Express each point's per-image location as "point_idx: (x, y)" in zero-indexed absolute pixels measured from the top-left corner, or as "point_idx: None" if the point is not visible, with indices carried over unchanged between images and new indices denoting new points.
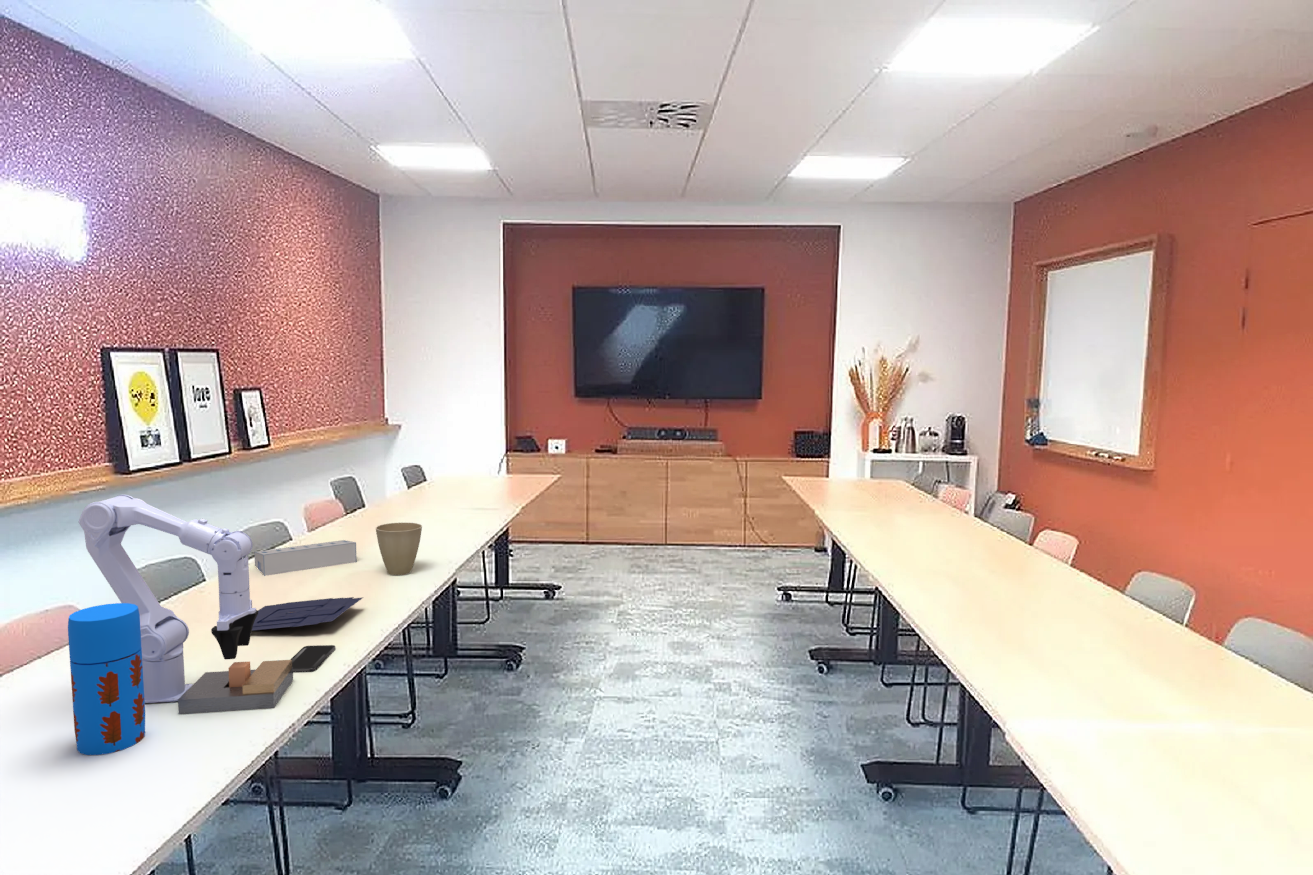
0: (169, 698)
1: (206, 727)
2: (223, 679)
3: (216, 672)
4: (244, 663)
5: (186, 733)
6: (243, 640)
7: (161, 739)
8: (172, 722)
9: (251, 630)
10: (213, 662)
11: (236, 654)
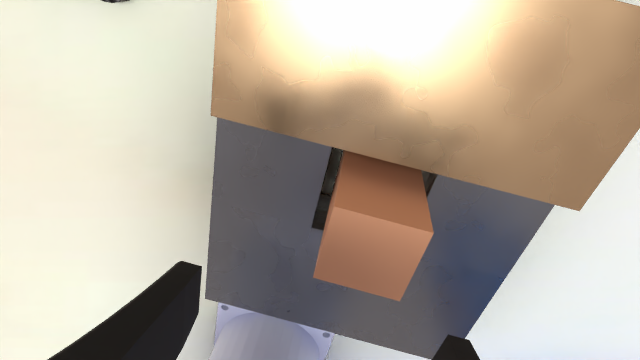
0: (320, 342)
1: (626, 258)
2: (302, 250)
3: (215, 270)
4: (359, 234)
5: (629, 304)
6: (180, 320)
7: (620, 351)
8: (497, 330)
9: (90, 339)
10: (28, 245)
11: (461, 356)
